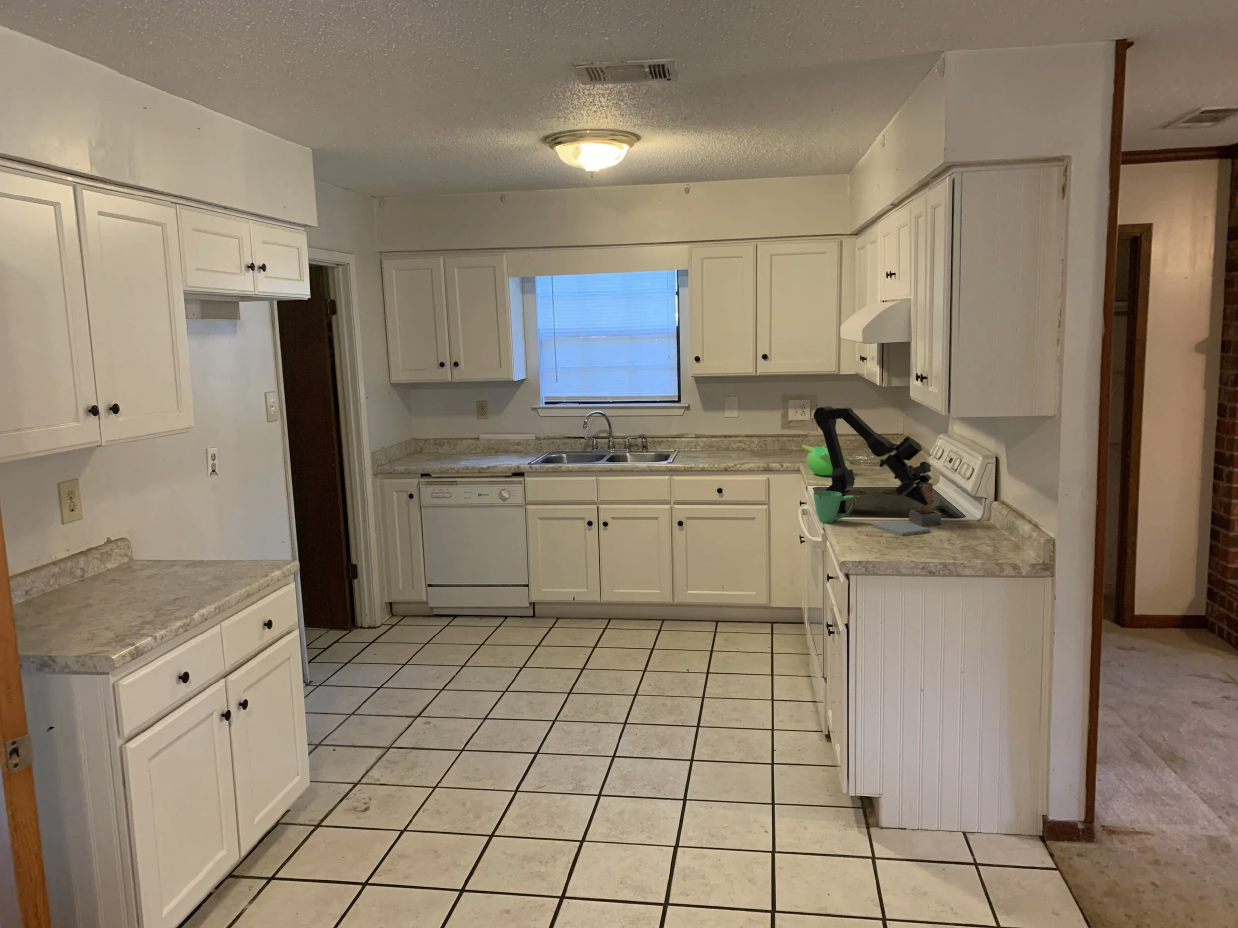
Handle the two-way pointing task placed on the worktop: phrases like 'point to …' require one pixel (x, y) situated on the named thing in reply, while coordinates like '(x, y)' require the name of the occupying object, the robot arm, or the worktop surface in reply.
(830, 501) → the mug
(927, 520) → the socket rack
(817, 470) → the toy bird
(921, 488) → the dowel
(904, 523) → the board
